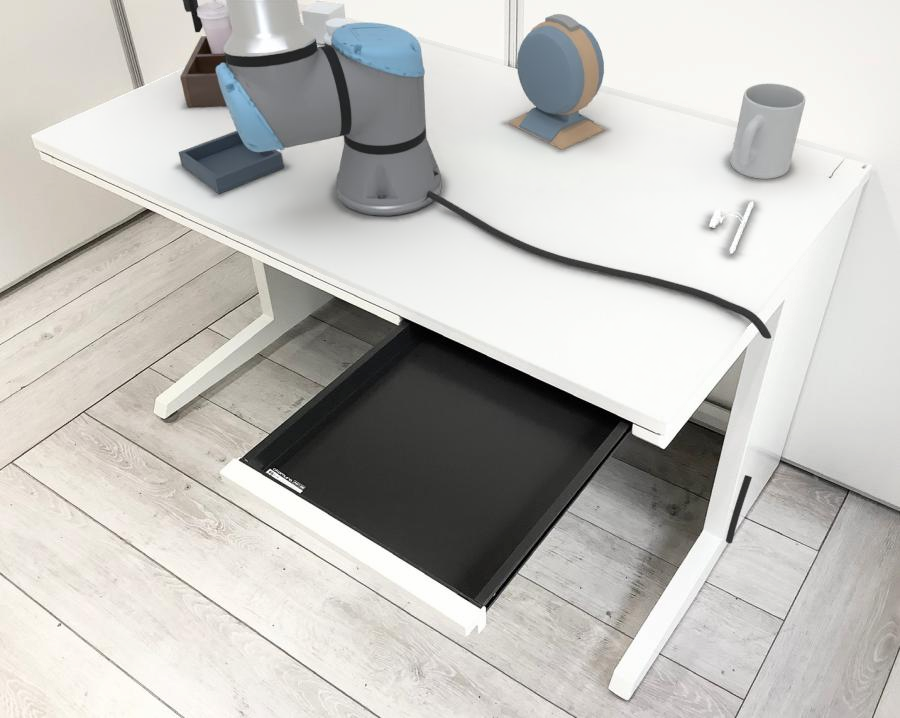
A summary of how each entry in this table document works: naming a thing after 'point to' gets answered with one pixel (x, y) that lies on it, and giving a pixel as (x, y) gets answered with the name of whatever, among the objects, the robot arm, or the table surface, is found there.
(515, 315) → the table surface
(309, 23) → the white cube
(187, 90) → the rack
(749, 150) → the mug
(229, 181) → the tray
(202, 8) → the smoothie
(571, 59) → the alarm clock
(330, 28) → the pill bottle
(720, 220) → the picture light
